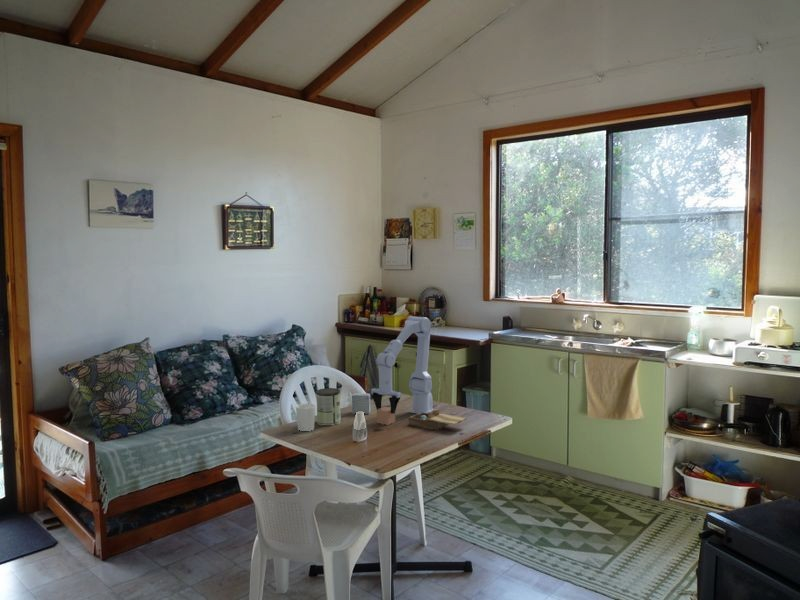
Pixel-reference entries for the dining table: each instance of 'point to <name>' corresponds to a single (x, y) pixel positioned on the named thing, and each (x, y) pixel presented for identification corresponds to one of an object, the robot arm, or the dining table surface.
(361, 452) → the dining table surface
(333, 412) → the coffee can
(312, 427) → the white cup
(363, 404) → the medicine box
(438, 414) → the lid
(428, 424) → the walnut box
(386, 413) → the tan cardboard cube
